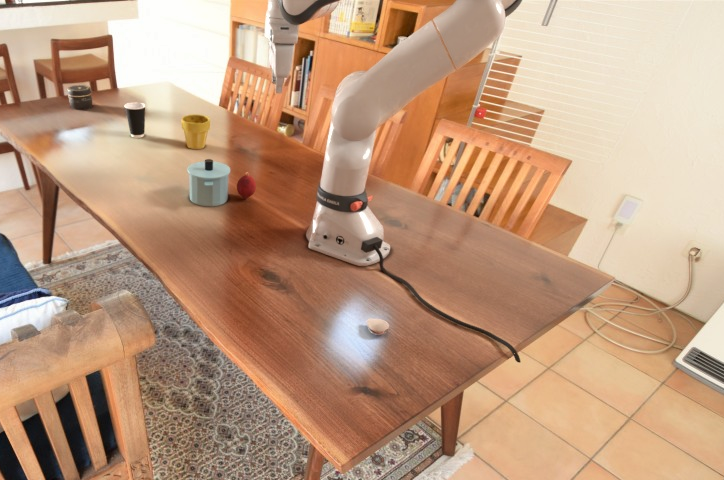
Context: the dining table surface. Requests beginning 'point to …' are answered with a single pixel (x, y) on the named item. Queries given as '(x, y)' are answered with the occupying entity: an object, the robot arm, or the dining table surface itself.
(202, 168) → the pot lid
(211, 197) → the pot
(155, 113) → the dining table surface
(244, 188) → the onion
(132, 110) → the dixie cup
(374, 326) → the macaroon
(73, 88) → the jar
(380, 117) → the robot arm
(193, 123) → the flower pot
